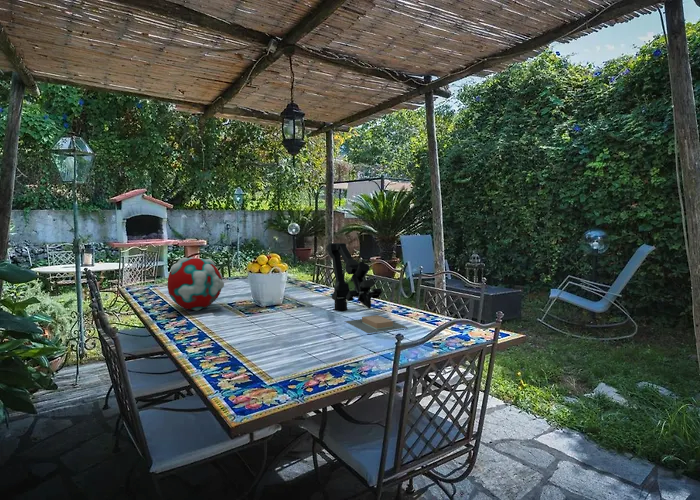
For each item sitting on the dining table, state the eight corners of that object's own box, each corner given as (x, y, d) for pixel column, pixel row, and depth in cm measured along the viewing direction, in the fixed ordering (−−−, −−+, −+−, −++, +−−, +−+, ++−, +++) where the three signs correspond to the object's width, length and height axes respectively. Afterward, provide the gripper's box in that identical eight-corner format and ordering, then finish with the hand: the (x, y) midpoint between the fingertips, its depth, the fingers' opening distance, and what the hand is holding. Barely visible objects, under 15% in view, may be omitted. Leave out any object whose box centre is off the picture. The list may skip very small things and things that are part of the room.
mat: (344, 322, 209) (344, 321, 209) (381, 318, 219) (381, 316, 219) (368, 335, 188) (368, 333, 187) (408, 329, 198) (408, 327, 198)
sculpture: (167, 306, 246) (165, 256, 244) (220, 301, 259) (219, 254, 257) (169, 318, 218) (167, 261, 215) (228, 312, 230) (227, 259, 228)
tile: (362, 316, 205) (376, 323, 193) (377, 315, 210) (392, 321, 197) (362, 322, 206) (376, 329, 193) (377, 320, 210) (392, 327, 197)
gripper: (348, 274, 206) (359, 300, 197) (380, 272, 215) (392, 297, 206) (341, 288, 214) (351, 313, 205) (372, 285, 222) (383, 309, 214)
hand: (370, 308), depth 207 cm, fingers closed
